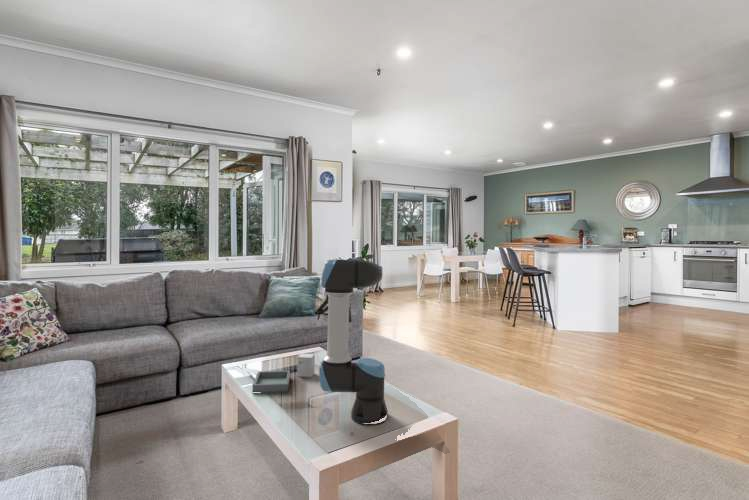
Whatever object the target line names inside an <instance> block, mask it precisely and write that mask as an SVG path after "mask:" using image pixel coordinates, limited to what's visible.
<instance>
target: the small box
mask: <svg viewBox="0 0 749 500" xmlns="http://www.w3.org/2000/svg"><path fill="white" fill-rule="evenodd" d="M315 359H316V357H315V353H313V354H310V353H307V354H306V353H300V354H299V355H298V356H297V360H296V363H297V366H296V367H297V371H296V372H297V373H296V374H297V375H296V376H297V377H298V378H299V377H301V378H302V377H303V378H313V377H314V374H315Z"/></svg>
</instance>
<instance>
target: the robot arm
mask: <svg viewBox="0 0 749 500" xmlns="http://www.w3.org/2000/svg"><path fill="white" fill-rule="evenodd" d="M320 280H321V281H320V282H321V284H320V286H321V288H322V289H324V293H325V294H326V295H327V297H326V298H325V300H324V301H323V302H322V303H321V305H320V306H319V307H318V308H317V309H316V312H317V313H318V316H317V323H316V327H321V326H322V322H323V319H324V315H325V313H326V312H327V340H326V341H327V343H326V346H327V348H326V350H327V351H326V355H325V356H324V357H323V360H322V361H319V366H318V367H319V368H318V377H319V384H320V388H321V389H322V390H323V392H330V393H355V400H354V403H353V405H352V409H351V411H350V412H351V413H350V414H351V416H350V418H351V419H352V421H354V422H355V423H357V422H359V423H371V422H375V421H379V420H380V419H382V418H384V417H385V416H386V415H387V413H388V414H389V411H388V407H387V404H386V400H385V377H386V373H385V365H384V363H382V362H381V361H379V360H378V359H376V358H370V357H362V358H358V359H357V360H356V362H352V357H351V356H350V355H349V331H350V330H349V328H350V327H349V325H350V323H352V320H353V319H352V312H351V306H352V304H351V303H350V297H351V295H352V294H354V289H367V288H370V287H373V286H376V285H377V284H379V283H380V281H382V280H383V267H382V265H379V264H377V263H374V262H372V261H368V260H363V259H362V260H361V259H337V258H336V259H335V258H334V259H327V260H326V261H325V263H324V266H323V269H322V274H321V279H320ZM359 423H358V424H359Z"/></svg>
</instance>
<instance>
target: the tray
mask: <svg viewBox="0 0 749 500" xmlns="http://www.w3.org/2000/svg"><path fill="white" fill-rule="evenodd" d="M290 380H291V370H275V371H274V370H273V371H272V370H271V371H269V370H267V371H265V370H264V371H257V373H256V376H255V378H254V380H253V383H252V393H253V392H261V393H260V394H281V393H289V392H288V391H289V388H290V387H289V386H290Z"/></svg>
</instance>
